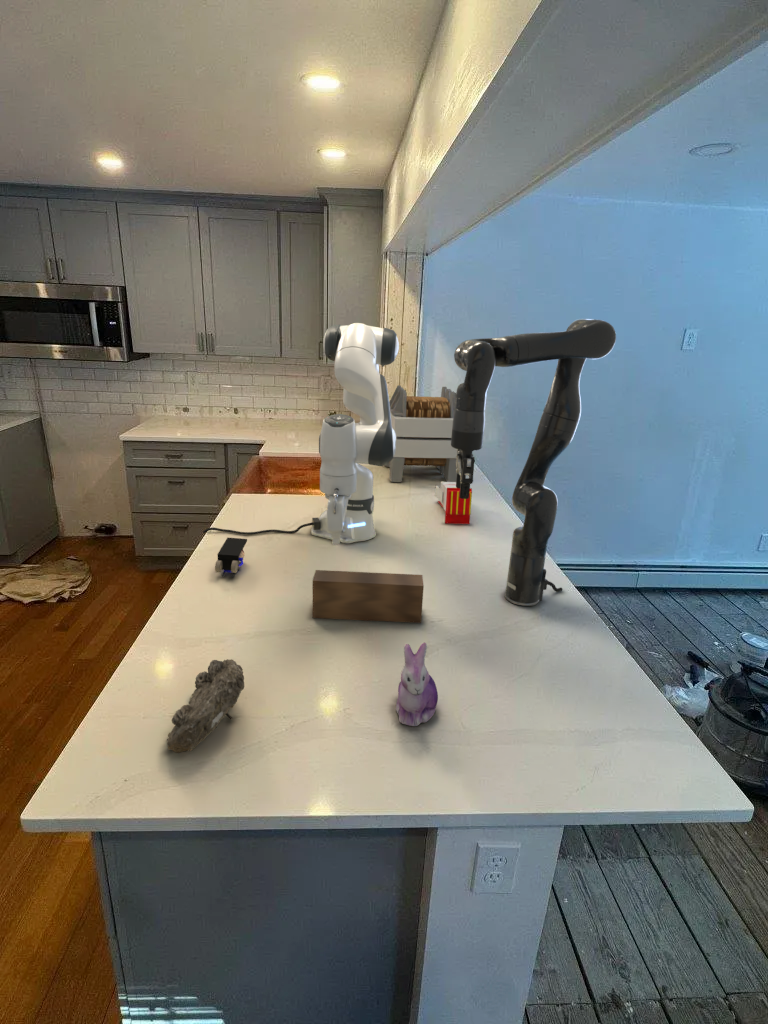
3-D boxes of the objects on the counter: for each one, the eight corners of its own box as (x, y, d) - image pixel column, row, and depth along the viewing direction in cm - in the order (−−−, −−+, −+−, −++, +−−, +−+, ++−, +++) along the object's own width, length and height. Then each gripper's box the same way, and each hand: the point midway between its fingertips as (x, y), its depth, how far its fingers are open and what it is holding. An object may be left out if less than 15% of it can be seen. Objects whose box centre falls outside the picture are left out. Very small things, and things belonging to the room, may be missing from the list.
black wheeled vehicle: (238, 584, 162) (249, 557, 175) (236, 562, 158) (247, 536, 172) (215, 584, 161) (227, 556, 175) (212, 561, 158) (225, 535, 171)
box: (312, 617, 144) (312, 580, 140) (315, 605, 150) (315, 569, 146) (420, 622, 144) (423, 585, 140) (419, 610, 150) (422, 574, 146)
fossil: (192, 660, 117) (244, 628, 112) (224, 691, 120) (276, 661, 115) (142, 746, 98) (202, 712, 93) (182, 779, 101) (242, 748, 96)
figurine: (408, 735, 105) (412, 667, 100) (382, 702, 114) (386, 638, 109) (450, 721, 110) (457, 654, 105) (423, 690, 118) (428, 627, 113)
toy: (463, 477, 236) (476, 489, 206) (461, 509, 239) (474, 525, 209) (433, 476, 235) (443, 488, 206) (432, 508, 238) (441, 524, 209)
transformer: (382, 463, 289) (386, 382, 275) (445, 464, 293) (451, 384, 279) (390, 482, 257) (394, 392, 243) (460, 483, 261) (468, 394, 247)
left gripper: (348, 496, 127) (347, 553, 131) (353, 473, 146) (352, 523, 151) (320, 495, 127) (320, 552, 131) (328, 472, 146) (328, 522, 151)
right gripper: (488, 435, 128) (481, 503, 133) (479, 423, 141) (473, 485, 147) (455, 433, 128) (449, 501, 133) (449, 421, 141) (444, 483, 147)
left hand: (337, 536), depth 141 cm, fingers open, 8 cm apart
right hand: (462, 492), depth 140 cm, fingers open, 8 cm apart
